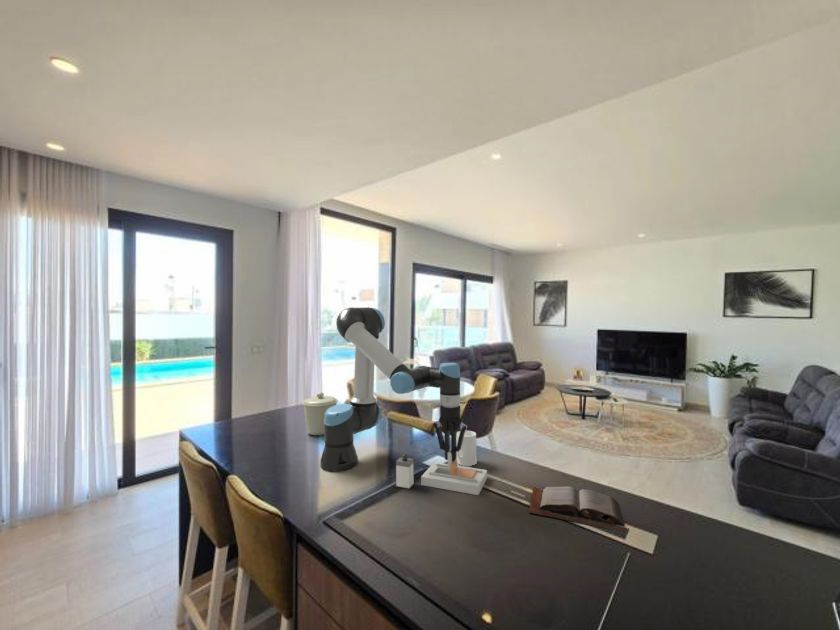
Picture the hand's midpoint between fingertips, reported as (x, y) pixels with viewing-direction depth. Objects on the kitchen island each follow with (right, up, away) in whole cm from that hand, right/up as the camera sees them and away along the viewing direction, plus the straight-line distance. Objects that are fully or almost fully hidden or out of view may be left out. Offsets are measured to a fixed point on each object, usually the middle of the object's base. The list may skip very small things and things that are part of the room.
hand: (450, 468), depth 136 cm
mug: (+7, -5, +16) cm, 18 cm away
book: (+39, -5, -19) cm, 43 cm away
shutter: (+4, -1, -2) cm, 5 cm away
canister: (-63, -5, +57) cm, 85 cm away
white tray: (+1, -4, -1) cm, 5 cm away
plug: (-17, -5, -3) cm, 18 cm away
